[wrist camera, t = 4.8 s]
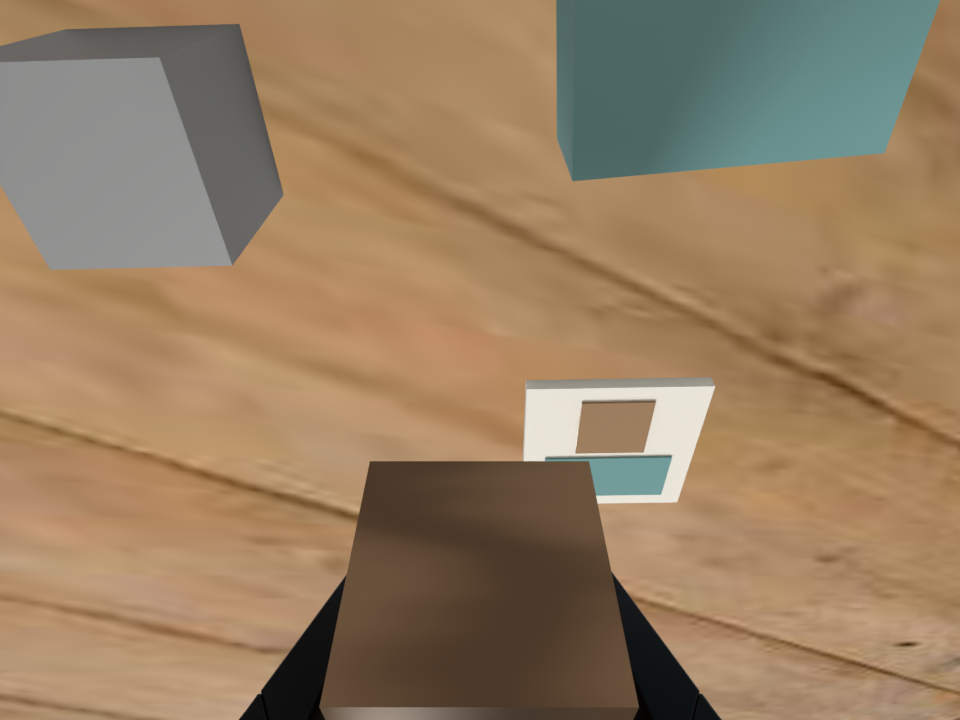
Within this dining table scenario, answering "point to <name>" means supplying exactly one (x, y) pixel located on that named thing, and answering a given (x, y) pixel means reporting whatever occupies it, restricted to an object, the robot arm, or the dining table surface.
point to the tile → (619, 431)
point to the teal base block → (730, 81)
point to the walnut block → (479, 598)
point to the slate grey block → (135, 146)
